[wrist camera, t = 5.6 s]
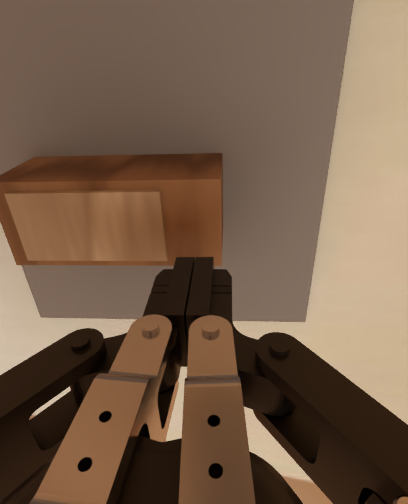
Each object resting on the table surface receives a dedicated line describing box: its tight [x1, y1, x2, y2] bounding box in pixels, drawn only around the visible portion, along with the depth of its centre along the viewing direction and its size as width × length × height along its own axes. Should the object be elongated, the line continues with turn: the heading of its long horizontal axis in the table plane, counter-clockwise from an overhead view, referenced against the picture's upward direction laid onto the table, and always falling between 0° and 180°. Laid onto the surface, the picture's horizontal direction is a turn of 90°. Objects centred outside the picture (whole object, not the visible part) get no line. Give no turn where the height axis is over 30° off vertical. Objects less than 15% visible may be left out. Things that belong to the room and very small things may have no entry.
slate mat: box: [0, 0, 354, 322], centre depth 22 cm, size 22×22×1 cm
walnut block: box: [0, 153, 223, 266], centre depth 20 cm, size 5×5×12 cm
